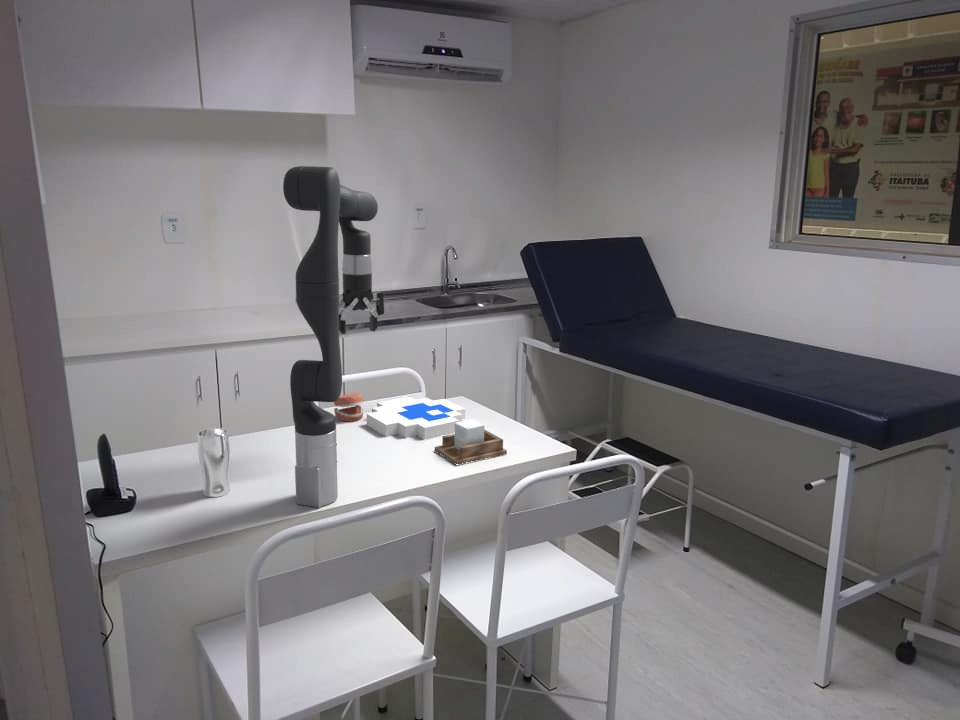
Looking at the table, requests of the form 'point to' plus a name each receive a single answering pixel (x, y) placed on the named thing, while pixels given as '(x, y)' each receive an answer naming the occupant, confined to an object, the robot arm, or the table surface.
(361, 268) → the robot arm
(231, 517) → the table surface
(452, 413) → the pixel art tile
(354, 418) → the dentures
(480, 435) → the product box
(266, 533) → the table surface
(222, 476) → the beer glass
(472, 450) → the U-rest
